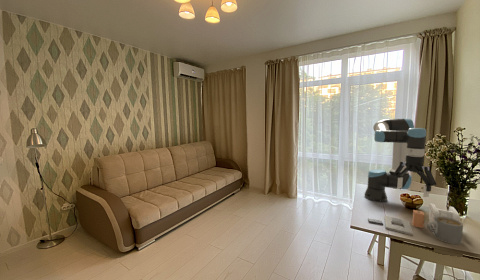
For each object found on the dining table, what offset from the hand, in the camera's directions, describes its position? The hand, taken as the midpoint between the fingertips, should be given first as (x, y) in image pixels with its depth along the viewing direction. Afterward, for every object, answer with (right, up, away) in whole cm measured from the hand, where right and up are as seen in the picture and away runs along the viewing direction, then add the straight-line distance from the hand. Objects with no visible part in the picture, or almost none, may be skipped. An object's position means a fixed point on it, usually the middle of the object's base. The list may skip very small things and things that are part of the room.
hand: (412, 192), depth 108 cm
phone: (-13, -22, +11) cm, 28 cm away
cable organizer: (+22, -22, +5) cm, 32 cm away
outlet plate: (-3, -22, +7) cm, 23 cm away
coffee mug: (+12, -24, -5) cm, 27 cm away
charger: (+9, -22, +7) cm, 25 cm away
